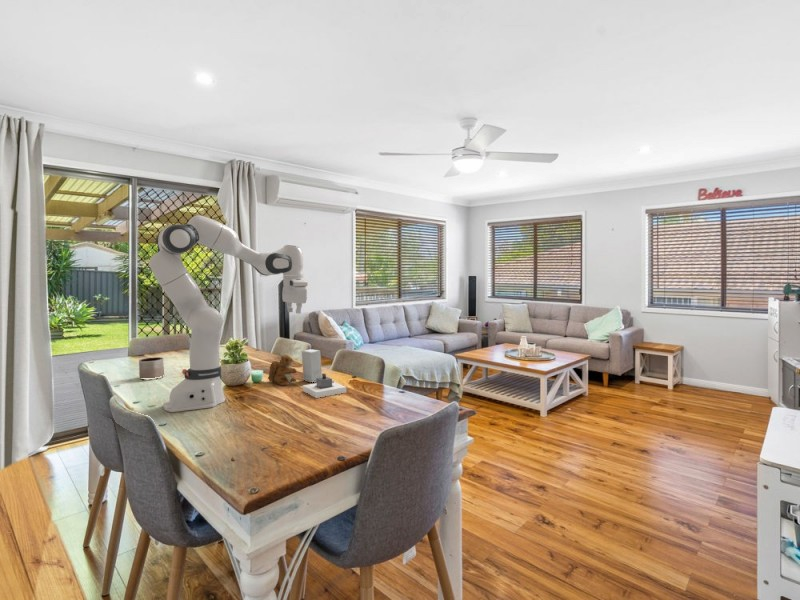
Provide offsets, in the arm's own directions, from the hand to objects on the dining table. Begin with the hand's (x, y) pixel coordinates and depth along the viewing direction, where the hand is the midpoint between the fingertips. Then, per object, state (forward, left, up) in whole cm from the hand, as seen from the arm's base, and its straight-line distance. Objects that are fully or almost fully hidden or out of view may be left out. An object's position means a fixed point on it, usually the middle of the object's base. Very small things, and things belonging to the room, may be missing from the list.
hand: (294, 312), depth 199 cm
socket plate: (+7, -15, -34) cm, 38 cm away
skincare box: (+11, +7, -34) cm, 37 cm away
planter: (-51, +62, -34) cm, 87 cm away
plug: (+7, -15, -34) cm, 38 cm away
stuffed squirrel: (-2, +13, -34) cm, 37 cm away
